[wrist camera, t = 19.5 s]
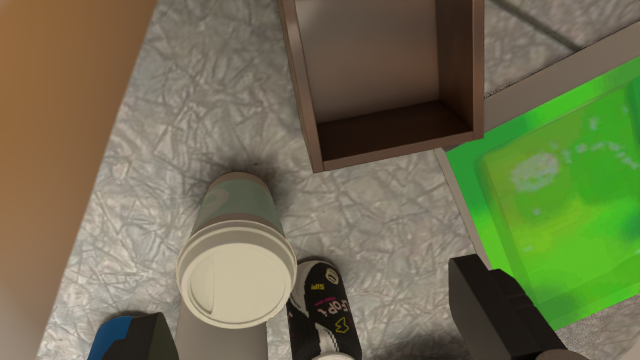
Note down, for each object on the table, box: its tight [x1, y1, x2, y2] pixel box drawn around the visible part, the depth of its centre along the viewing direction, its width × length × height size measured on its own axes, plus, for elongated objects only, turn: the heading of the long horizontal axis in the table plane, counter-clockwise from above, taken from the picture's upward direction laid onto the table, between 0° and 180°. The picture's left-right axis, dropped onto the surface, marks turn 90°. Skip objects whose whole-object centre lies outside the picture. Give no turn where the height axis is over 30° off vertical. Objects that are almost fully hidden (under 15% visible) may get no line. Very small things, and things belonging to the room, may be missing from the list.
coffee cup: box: [176, 172, 297, 329], centre depth 39 cm, size 8×9×12 cm
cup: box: [174, 297, 268, 360], centre depth 44 cm, size 8×8×12 cm
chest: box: [277, 0, 484, 173], centre depth 35 cm, size 16×13×8 cm
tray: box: [434, 21, 640, 331], centre depth 46 cm, size 25×25×5 cm
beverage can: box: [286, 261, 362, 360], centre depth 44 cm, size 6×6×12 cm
